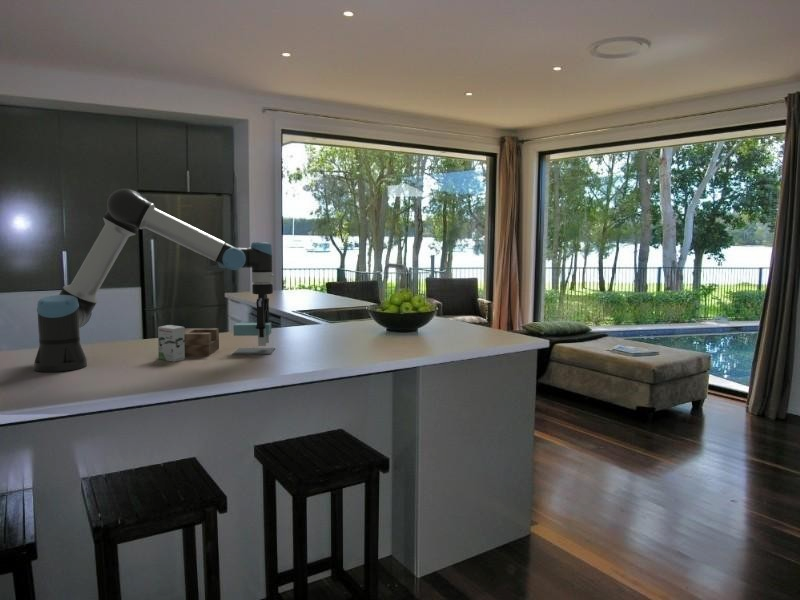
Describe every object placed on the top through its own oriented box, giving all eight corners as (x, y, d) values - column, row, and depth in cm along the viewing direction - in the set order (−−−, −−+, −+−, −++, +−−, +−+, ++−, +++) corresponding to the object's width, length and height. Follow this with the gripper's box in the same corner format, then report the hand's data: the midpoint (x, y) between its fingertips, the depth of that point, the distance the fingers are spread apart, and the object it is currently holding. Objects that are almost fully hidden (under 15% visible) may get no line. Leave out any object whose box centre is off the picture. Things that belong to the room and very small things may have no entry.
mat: (232, 354, 222) (232, 353, 222) (239, 349, 234) (239, 348, 234) (270, 354, 222) (270, 353, 222) (275, 348, 234) (275, 347, 234)
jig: (164, 355, 219) (163, 334, 218) (177, 348, 234) (176, 328, 233) (209, 355, 220) (208, 334, 219) (219, 348, 235) (218, 328, 234)
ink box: (157, 359, 213) (156, 326, 212) (169, 357, 217) (168, 324, 216) (174, 361, 209) (173, 328, 208) (185, 359, 213) (184, 326, 212)
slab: (233, 335, 224) (233, 325, 224) (237, 333, 230) (236, 322, 230) (268, 335, 225) (268, 324, 224) (271, 333, 231) (271, 322, 230)
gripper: (268, 285, 217) (269, 348, 219) (276, 281, 235) (277, 340, 238) (247, 285, 216) (248, 348, 218) (257, 281, 235) (258, 340, 237)
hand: (263, 344), depth 228 cm, fingers closed on slab, 6 cm apart
